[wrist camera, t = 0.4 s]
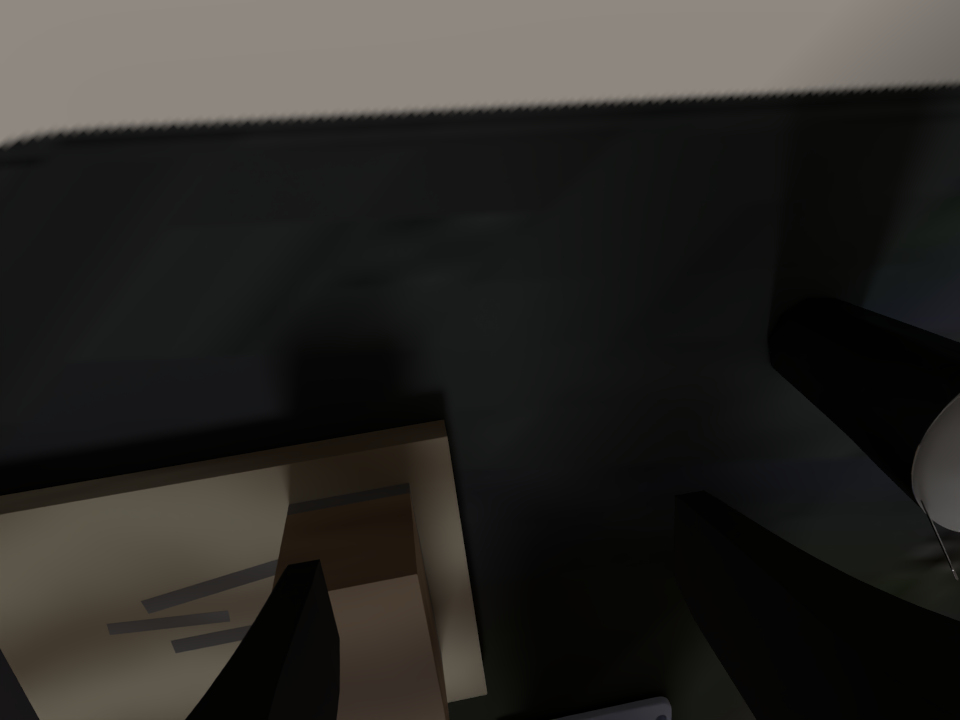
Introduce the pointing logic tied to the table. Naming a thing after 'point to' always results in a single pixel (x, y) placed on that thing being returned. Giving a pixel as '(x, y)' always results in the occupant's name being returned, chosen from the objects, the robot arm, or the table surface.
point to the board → (200, 570)
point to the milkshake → (881, 394)
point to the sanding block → (374, 601)
